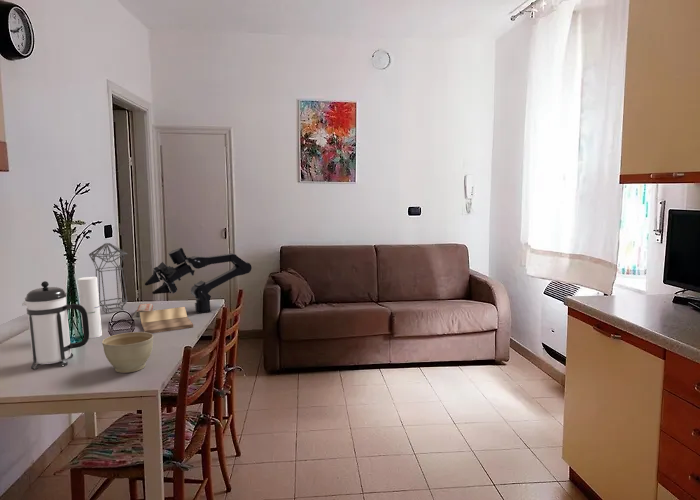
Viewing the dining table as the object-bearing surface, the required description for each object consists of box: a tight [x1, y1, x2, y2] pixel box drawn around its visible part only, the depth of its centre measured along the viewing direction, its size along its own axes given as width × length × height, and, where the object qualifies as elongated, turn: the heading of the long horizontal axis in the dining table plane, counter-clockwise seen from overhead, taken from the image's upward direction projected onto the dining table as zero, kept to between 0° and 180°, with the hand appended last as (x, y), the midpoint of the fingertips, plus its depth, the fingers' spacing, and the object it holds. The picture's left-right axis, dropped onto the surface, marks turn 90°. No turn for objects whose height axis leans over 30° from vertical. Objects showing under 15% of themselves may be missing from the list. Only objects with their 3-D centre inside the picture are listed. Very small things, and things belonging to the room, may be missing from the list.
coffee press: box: [21, 281, 90, 371], centre depth 183 cm, size 17×16×30 cm
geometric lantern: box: [88, 242, 128, 314], centre depth 261 cm, size 16×16×35 cm
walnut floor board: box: [141, 316, 194, 334], centre depth 229 cm, size 20×14×2 cm
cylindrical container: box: [77, 276, 103, 339], centre depth 216 cm, size 7×7×25 cm
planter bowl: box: [101, 331, 154, 374], centre depth 176 cm, size 16×16×11 cm
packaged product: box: [131, 303, 158, 322], centre depth 251 cm, size 18×5×10 cm
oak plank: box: [140, 306, 188, 325], centre depth 238 cm, size 20×7×2 cm
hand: (148, 288), depth 241 cm, fingers open, 9 cm apart
